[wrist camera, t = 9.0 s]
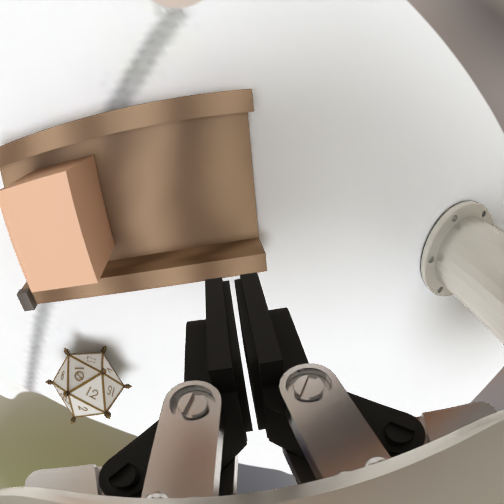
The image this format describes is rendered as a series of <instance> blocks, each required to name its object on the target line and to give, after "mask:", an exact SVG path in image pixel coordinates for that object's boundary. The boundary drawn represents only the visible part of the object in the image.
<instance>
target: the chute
mask: <svg viewBox="0 0 504 504" xmlns="http://www.w3.org/2000/svg"><path fill="white" fill-rule="evenodd" d="M252 111H254V106H253V95H252V89H243V90H232V91H223V92H214V93H206V94H198V95H191V96H184V97H178V98H172V99H166V100H160V101H155V102H150V103H145V104H140V105H135V106H130V107H126V108H121V109H117V110H113V111H109V112H105V113H101V114H97V115H93V116H89V117H86V118H82V119H79V120H75V121H72V122H68V123H65V124H62V125H59V126H55V127H52V128H49V129H46V130H43V131H40V132H37V133H35V134H32V135H29V136H26V137H23V138H21V139H18V140H16V141H13V142H10V143H8V144H5V145H3V146H0V171H1V175H2V179H3V184H4V187H6V186H8V185H9V184H11V183H13V182H14V181H16V180H18V179H20V178H22V177H23V176H25V175H27V174H29V173H31V172H32V171H35V170H39V169H42V168H45V167H49V166H52V165H56V164H59V163H63V162H66V161H70V160H74V159H77V158H81V157H85V156H89V155H93V154H94V159H95V164H96V169H97V174H98V178H99V183H100V187H101V192H102V196H103V201H104V205H105V209H106V213H107V217H108V221H109V225H110V229H111V232H112V236H113V240H114V243H115V247H114V249H113V251H112V253H111V256H110V258H109V260H108V262H107V264H106V266H105V268H104V271H103V273H102V275H101V277H100V279H99V282H98V283H94V284H87V285H80V286H73V287H66V288H59V289H52V290H45V291H38V292H31V290H30V288H29V285H28V283H27V282H26V283H25V285H24V286H23V288H22V289H20V290H19V292H18V293H17V296H18V298H19V300H20V303H21V305H22V307H23V309H24V311H29V310H35V308H36V306H37V304H40V303H48V302H56V301H64V300H72V299H79V298H87V297H95V296H102V295H109V294H117V293H124V292H131V291H138V290H145V289H152V288H159V287H166V286H173V285H180V284H186V283H193V282H200V281H205V279H212V278H219V277H222V278H226V277H232V276H238V275H241V274H248V273H255V272H264V271H267V266H266V253H265V251H264V249H263V246H262V244H261V242H260V240H259V236H258V225H257V213H256V202H255V190H254V179H253V168H252V156H251V145H250V134H249V123H248V113H247V112H252Z"/></svg>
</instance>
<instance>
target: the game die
mask: <svg viewBox="0 0 504 504" xmlns="http://www.w3.org/2000/svg"><path fill="white" fill-rule="evenodd" d="M105 351H106V346H105V347H103V348H102V351H101V352H100V353H81V354H70V353H69V351H68V349H66V348H64V352H65V354H66V355H67V357H66V359H65V360H64V362H63V364H62V366H61V368H60V369H59V371H58V373H57V375H56V377H55V378H54V380H53V381H51V380H48V381H46V383H48V384H50V385H51V384H53V385H54V387H55V388H56V390H57V392H58V393H59V395H60V396H61V398H62V400H63V401H64V403H65V404H66V406H67V408H68V409H69V411H70V412H71V414H72V415H73V417H72V419H71V423H74V422H75V420H76V417H83V416H92V415H99V414H105V415H104V416H106V418H109V419H110V417H111V413H110V412H109V411H108V410H109V409H110V407H111V406H112V404H113V403H114V402H115V400H116V399H117V397H118V396H119V394H120V393H121V391H122V390H123V388H126V389H127V388H128V389H129V388H130V387H132V386H131V385H129V384H126V385H124V384H123V383H122V381H121V380H120V378H119V377H118V375H117V374H116V372H115V371H114V369H113V368H112V366H111V365H110V363H109V362H108V360H107V358H106V357H105V355H104V353H105Z"/></svg>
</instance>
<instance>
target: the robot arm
mask: <svg viewBox="0 0 504 504" xmlns="http://www.w3.org/2000/svg"><path fill="white" fill-rule="evenodd" d="M421 273H422V278H423V281H424V283H425V284H426V286H427V287H428V288H429V289H430V290H431V291H432V292H433V293H435V294H436V295H441V296H448V295H452V294H453V295H454V296H455V297H456V298H458V299H459V300H460V301H461V302H462V303H463V304H464V305H465V306H466V307H467V308H468V309H469V310H470V311H471V312H472V313H473V314H474V315H475V316H476V317H477V318H478V319H479V320H480V321H481V322H482V323H483V324H484V325H485V326H486V327H487V328H488V329H489V330H490V331H491V332H492V333H493V334H494V335H495V336H496V337H497V338H498V339H499V340H500V342H501V343H502V344H503V345H504V233H503V232H502V231H500V230H499V229H497V228H495V227H494V226H493V220H492V217H491V214H490V213H489V211H488V210H487V209H486V208H485V207H484V206H483V205H481V204H479V203H477V202H473V201H465V202H461V203H459V204H457V205H455V206H453V207H452V208H450V209H449V210H448V211H447V212H446V213H445V214H444V215H443V216H442V217H441V218H440V219H439V221H438V222H437V223H436V225H435V226H434V228H433V229H432V231H431V233H430V235H429V237H428V239H427V241H426V244H425V247H424V250H423V255H422V259H421ZM240 278H241V279H237V280H234V281H235V289H236V296H237V303H238V310H239V317H240V324H241V331H242V338H243V345H244V351H245V357H246V363H247V368H248V374H249V380H250V385H251V391H252V396H253V402H254V407H255V413H256V418H257V424H258V429H259V430H261V429H266V433H267V438H269V441H271V442H273V443H275V444H277V445H278V446H280V447H282V450H283V453H284V456H285V458H286V460H287V462H288V465H289V467H290V469H291V471H292V474H293V476H294V478H295V480H296V482H297V484H298V485H294V486H289V487H284V488H278V489H273V490H266V491H260V492H252V493H246V494H236V490H237V469H238V468H237V467H238V456H237V454H238V453H239V452H240V451H241V450H242V449H243V448H244V447H245V446H246V445H247V442H246V441H247V436H246V432H248V431H253V429H252V423H251V417H250V411H249V405H248V399H247V393H246V387H245V381H244V375H243V368H242V362H241V356H240V349H239V343H238V337H237V330H236V324H235V317H234V311H233V304H232V297H231V291H230V284H229V281H223V280H222V277H219V278H212V279H205V295H206V319H205V320H197V321H189V322H187V324H186V343H185V372H184V383H181V384H178V385H177V386H175V387H174V388H172V389H171V390H170V391H169V392H168V393H167V395H166V397H165V399H164V402H163V406H162V409H161V413H160V418H159V420H158V421H157V422H156V423H154V424H153V425H152V426H151V427H150V428H148V429H147V430H146V431H145V432H143V433H142V434H141V435H140V436H138V437H137V438H136V439H135V440H133V441H132V442H131V443H130V444H128V445H127V446H126V447H125V448H123V449H122V450H121V451H119V452H118V453H117V454H116V455H114V456H113V457H112V458H110V459H109V460H108V461H107V462H106V463H105V464H104V465H103V466H99V467H97V466H95V464H90V465H83V466H75V467H65V468H56V469H55V468H54V469H42V470H37V471H34V472H33V473H31V474H30V475H29V476H28V478H27V479H26V482H25V487H11V488H3V489H0V504H504V410H503V411H499V412H497V411H496V410H495V408H494V407H493V406H491V405H490V404H489V403H485V402H474V403H469V404H465V405H461V406H456V407H451V408H446V409H441V410H436V411H431V412H425V413H422V415H421V416H420V417H414V416H412V415H410V414H408V413H405V412H402V411H399V410H396V409H393V408H390V407H387V406H384V405H381V404H378V403H376V402H373V401H370V400H367V399H365V398H362V397H359V396H357V395H354V394H351V393H349V392H346V390H345V389H344V387H343V386H342V384H341V383H340V381H339V380H338V378H337V377H336V375H335V374H334V373H333V372H332V371H331V370H330V369H328V368H326V367H324V366H322V365H318V364H309V363H308V360H307V358H306V355H305V352H304V350H303V347H302V344H301V342H300V339H299V336H298V334H297V331H296V329H295V326H294V323H293V321H292V318H291V316H290V313H289V311H288V308H280V309H274V310H268V307H267V304H266V301H265V297H264V294H263V291H262V287H261V284H260V281H259V277H258V274H257V272H255V273H248V274H241V275H240Z"/></svg>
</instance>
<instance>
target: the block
mask: <svg viewBox="0 0 504 504" xmlns="http://www.w3.org/2000/svg"><path fill="white" fill-rule="evenodd" d="M0 207H1V211H2V214H3V217H4V220H5V224H6V227H7V230H8V233H9V236H10V239H11V242H12V244H13V247H14V250H15V253H16V255H17V258H18V261H19V263H20V266H21V268H22V271H23V273H24V276H25V278H26V281H27V283H28V285H29V288H30V290H31V292H38V291H45V290H52V289H59V288H66V287H73V286H80V285H87V284H94V283H98V282H99V279H100V277H101V275H102V273H103V271H104V268H105V266H106V264H107V262H108V260H109V258H110V256H111V253H112V251H113V249H114V247H115V243H114V240H113V236H112V232H111V229H110V225H109V221H108V217H107V213H106V209H105V205H104V201H103V196H102V192H101V187H100V183H99V178H98V174H97V169H96V164H95V159H94V154H93V155H89V156H85V157H81V158H77V159H74V160H70V161H66V162H63V163H59V164H56V165H52V166H49V167H45V168H42V169H39V170H35V171H32V172H31V173H29V174H27V175H25V176H23V177H22V178H20V179H18V180H16V181H14V182H13V183H11V184H9V185H8V186H6V187H4V188H3V189H1V190H0Z"/></svg>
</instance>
